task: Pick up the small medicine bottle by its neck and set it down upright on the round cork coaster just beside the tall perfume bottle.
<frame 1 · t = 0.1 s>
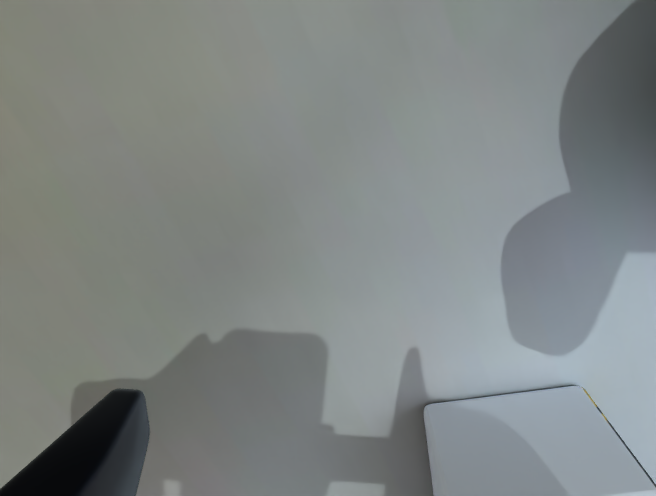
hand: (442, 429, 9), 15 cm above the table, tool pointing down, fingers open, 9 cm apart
medicine bottle: (505, 455, 27), on the table
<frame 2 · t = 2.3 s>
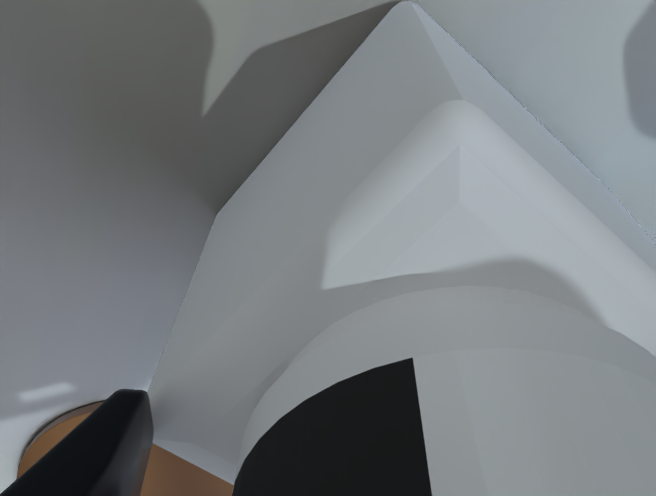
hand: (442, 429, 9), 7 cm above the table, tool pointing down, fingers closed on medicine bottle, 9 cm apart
medicine bottle: (406, 200, 15), on the table, touching gripper
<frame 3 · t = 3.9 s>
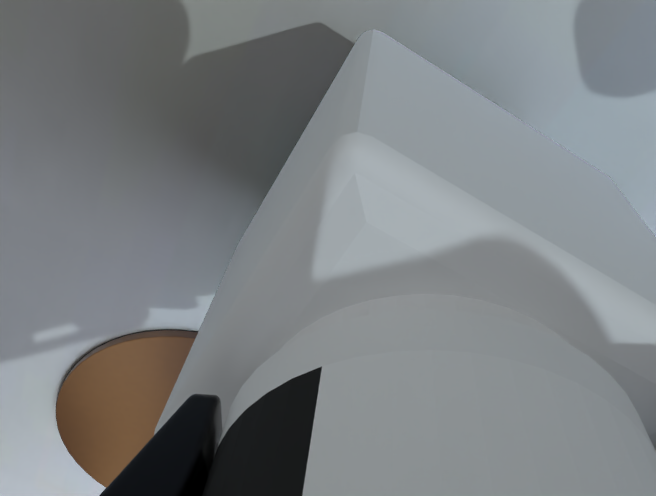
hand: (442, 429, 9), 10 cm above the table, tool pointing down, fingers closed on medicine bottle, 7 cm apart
medicine bottle: (411, 212, 16), point 3 cm above the table, touching gripper
cork coaster: (192, 430, 24), on the table
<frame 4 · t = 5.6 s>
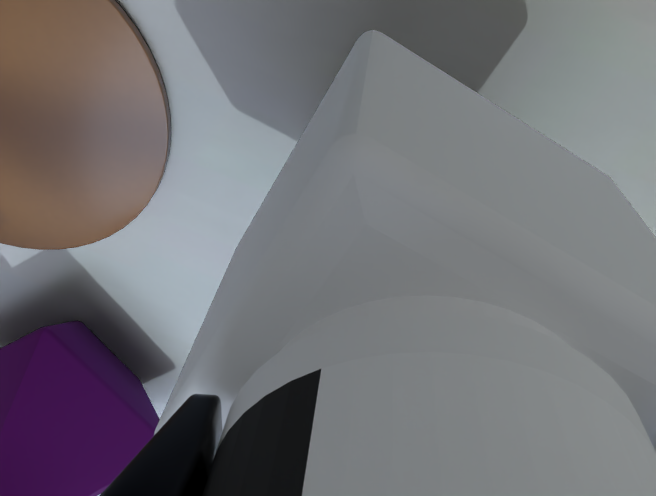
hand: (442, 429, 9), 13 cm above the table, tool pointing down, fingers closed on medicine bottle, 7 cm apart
perfume bottle: (78, 364, 26), on the table
medicine bottle: (411, 212, 16), point 5 cm above the table, touching gripper
cork coaster: (9, 106, 20), on the table
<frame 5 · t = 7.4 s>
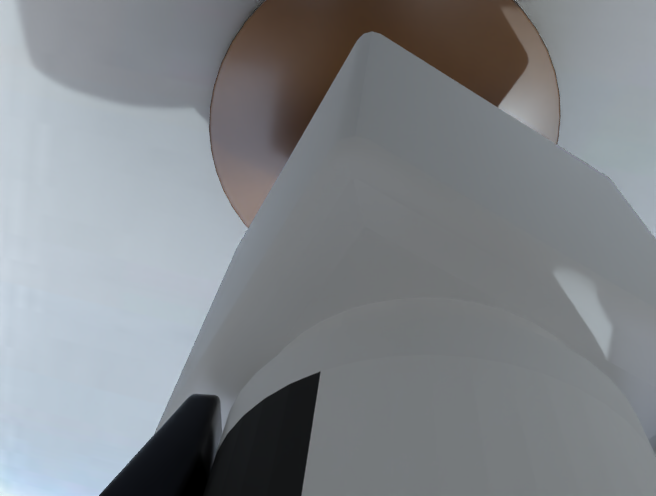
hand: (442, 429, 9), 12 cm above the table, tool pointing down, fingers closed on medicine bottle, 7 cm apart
medicine bottle: (411, 214, 16), point 4 cm above the table, touching gripper
cork coaster: (381, 140, 19), on the table
when the fingers open (8 cm above the table, at t = 8.9 s): medicine bottle stays where it is, resting on cork coaster.
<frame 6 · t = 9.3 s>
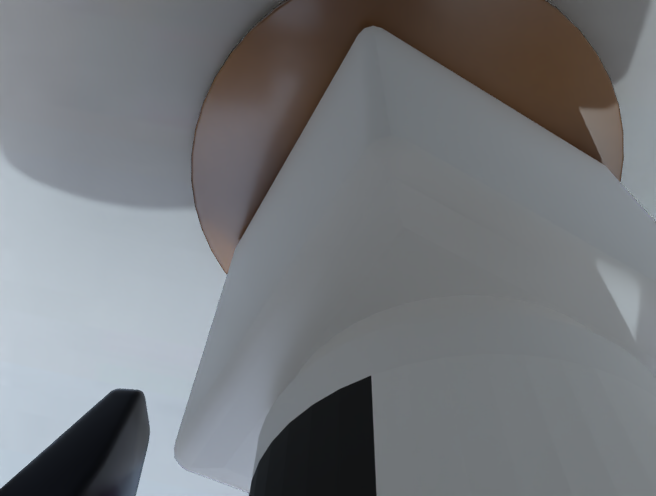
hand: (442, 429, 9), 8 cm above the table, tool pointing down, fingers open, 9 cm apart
medicine bottle: (410, 207, 16), resting on cork coaster
cork coaster: (401, 189, 15), on the table
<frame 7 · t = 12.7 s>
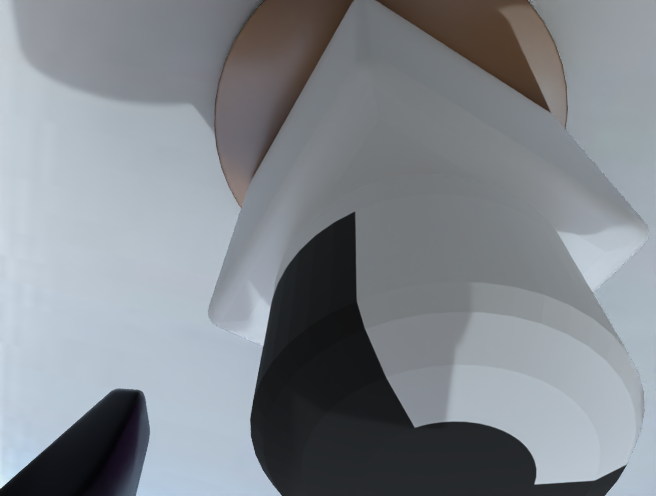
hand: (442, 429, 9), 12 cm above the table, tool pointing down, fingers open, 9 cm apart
medicine bottle: (394, 150, 19), resting on cork coaster
cork coaster: (387, 135, 19), on the table
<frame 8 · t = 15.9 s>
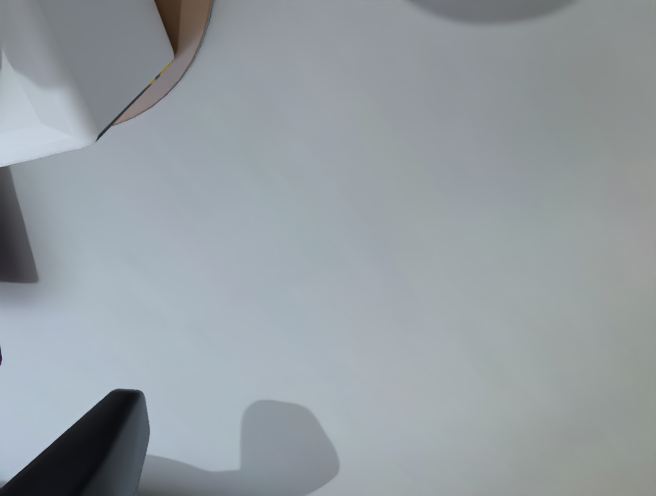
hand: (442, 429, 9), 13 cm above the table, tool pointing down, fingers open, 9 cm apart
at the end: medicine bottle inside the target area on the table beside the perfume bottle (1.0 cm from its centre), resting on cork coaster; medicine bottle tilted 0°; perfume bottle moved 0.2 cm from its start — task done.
